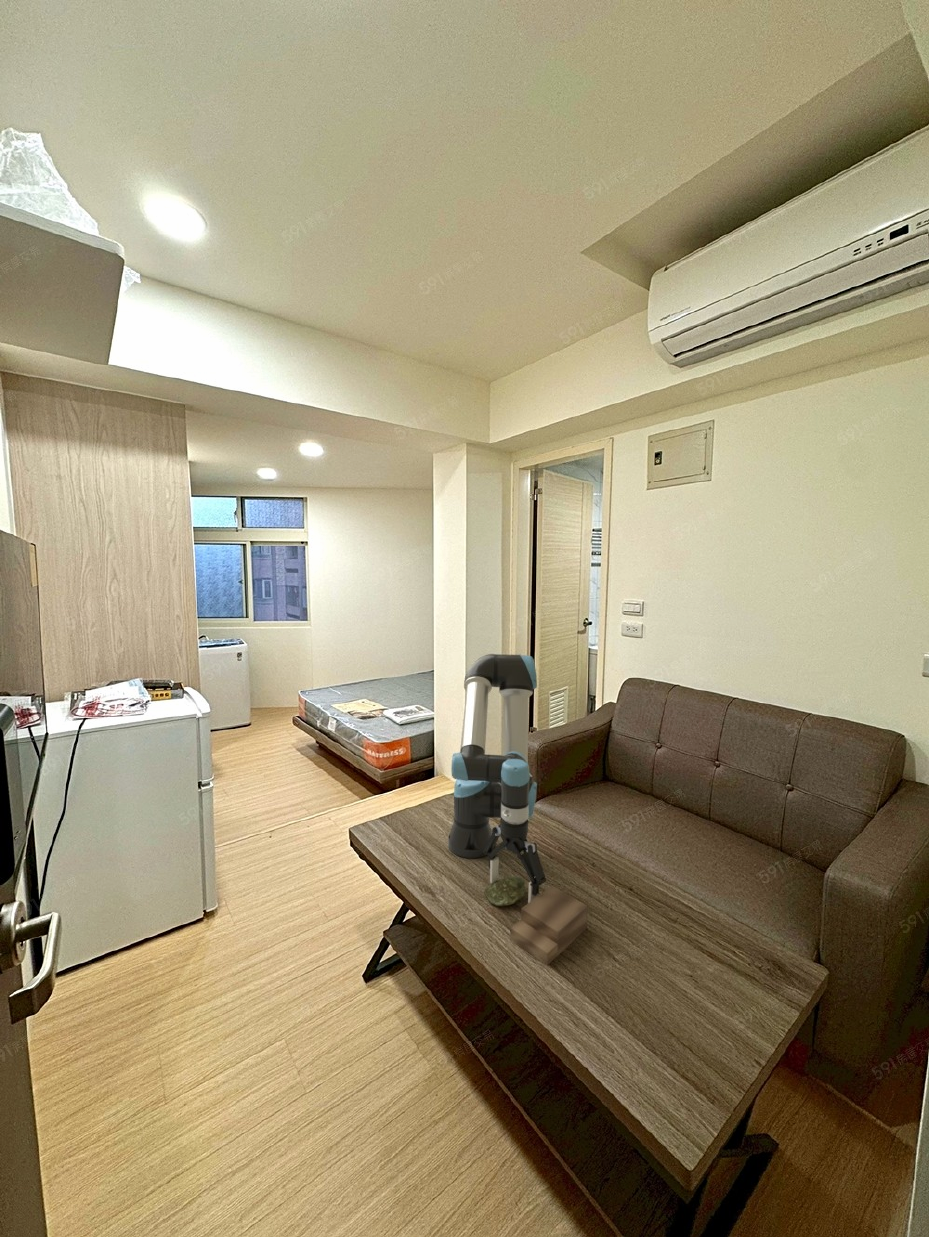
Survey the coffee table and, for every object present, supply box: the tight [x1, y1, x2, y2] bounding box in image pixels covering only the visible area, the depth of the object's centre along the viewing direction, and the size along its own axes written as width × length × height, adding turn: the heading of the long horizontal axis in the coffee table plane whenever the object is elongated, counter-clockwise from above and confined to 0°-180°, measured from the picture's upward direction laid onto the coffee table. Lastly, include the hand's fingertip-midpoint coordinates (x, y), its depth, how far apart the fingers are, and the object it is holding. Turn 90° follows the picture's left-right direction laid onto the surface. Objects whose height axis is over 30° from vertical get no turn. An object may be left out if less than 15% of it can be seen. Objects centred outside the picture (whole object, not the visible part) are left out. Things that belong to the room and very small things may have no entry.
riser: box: [509, 885, 589, 966], centre depth 119 cm, size 11×17×6 cm, turn 134°
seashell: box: [484, 875, 527, 907], centre depth 133 cm, size 10×7×10 cm
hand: (512, 892), depth 132 cm, fingers open, 13 cm apart
